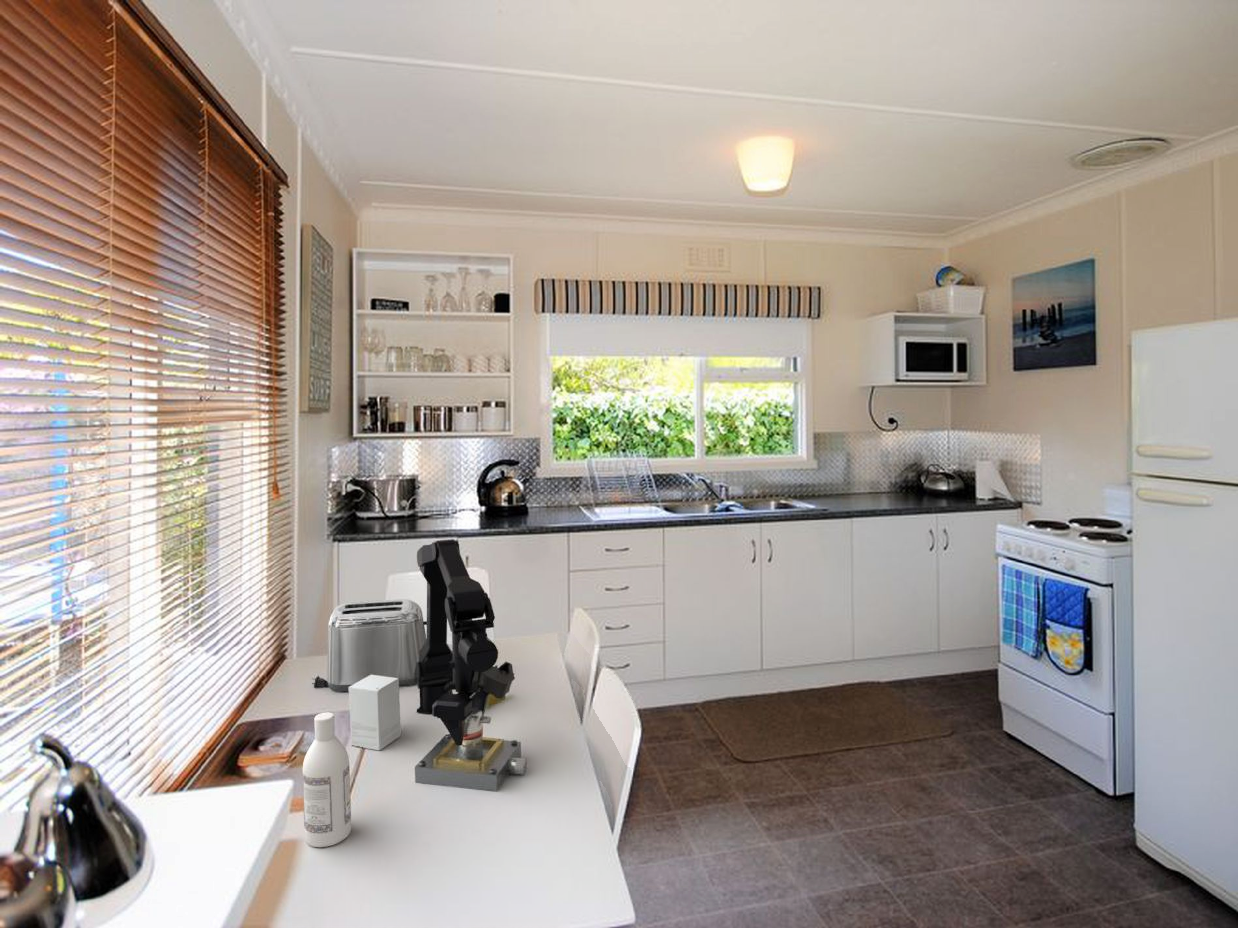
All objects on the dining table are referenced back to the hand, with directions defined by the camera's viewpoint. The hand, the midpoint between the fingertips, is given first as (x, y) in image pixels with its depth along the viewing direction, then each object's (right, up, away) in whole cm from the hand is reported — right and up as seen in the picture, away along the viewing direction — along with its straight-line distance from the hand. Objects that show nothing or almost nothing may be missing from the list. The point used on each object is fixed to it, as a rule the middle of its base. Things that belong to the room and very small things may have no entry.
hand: (469, 733), depth 131 cm
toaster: (-34, -4, +45) cm, 57 cm away
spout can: (0, -4, 0) cm, 4 cm away
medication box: (-3, -5, +29) cm, 30 cm away
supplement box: (-22, -6, +12) cm, 26 cm away
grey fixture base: (+1, -7, 0) cm, 7 cm away
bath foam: (-18, -9, -20) cm, 29 cm away
